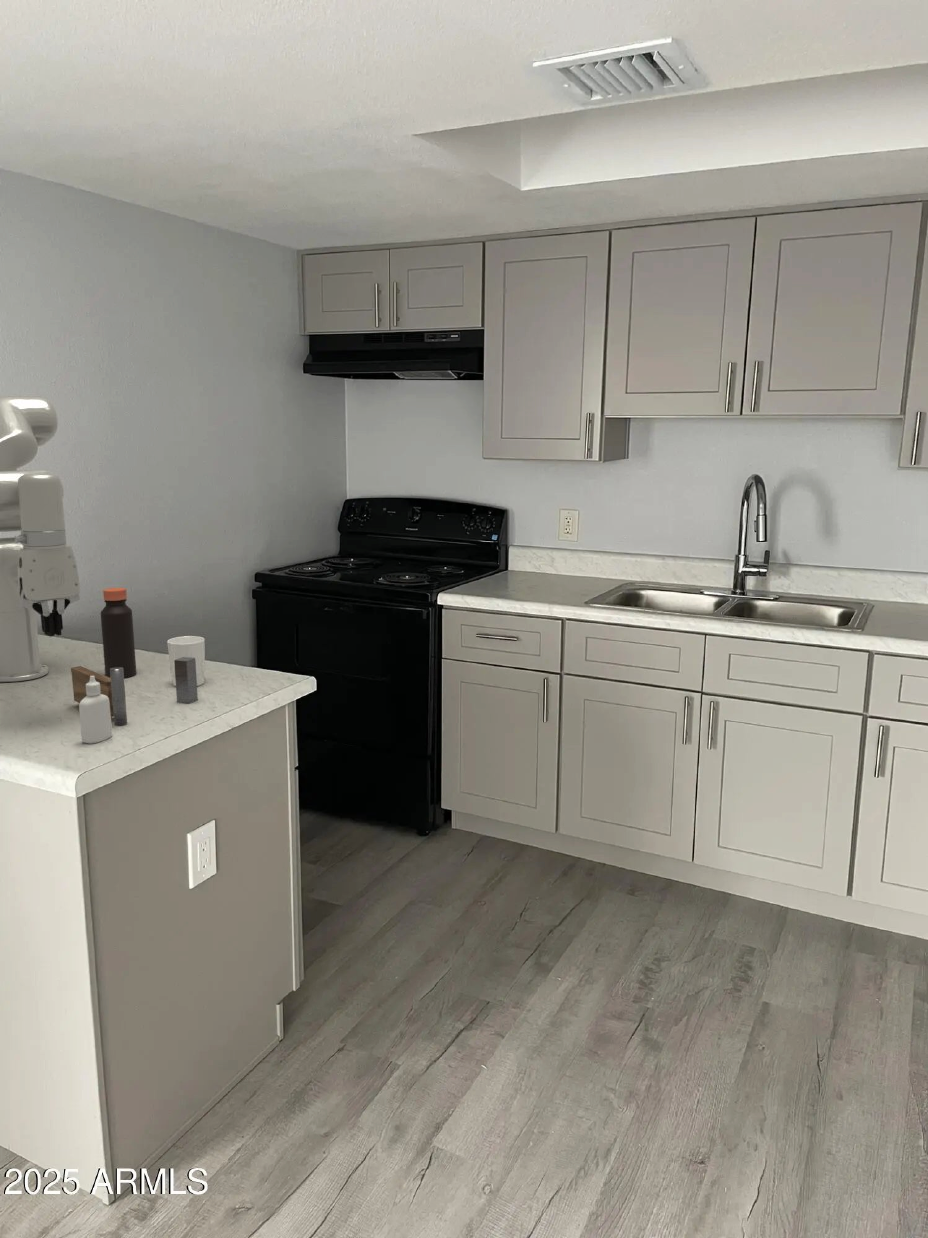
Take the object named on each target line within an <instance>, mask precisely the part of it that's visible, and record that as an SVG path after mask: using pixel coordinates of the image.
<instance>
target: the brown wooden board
mask: <svg viewBox="0 0 928 1238" xmlns="http://www.w3.org/2000/svg"><path fill="white" fill-rule="evenodd" d="M70 672H71V679H72V690H73V691H72V693H73V701H74V702H76V703H79V704H80V702H81V701H82V699H84V698H85V697H86V696H87V695H86V684H87V683H89V681H90V676H94V677H95V680H96V682H99V683H100V691H101V694H103V695H106V696H107V697H108V698H109V703H110V714H111V718H114V716H113V703H112V690H111V678H109V677H107V676H106V675H105V674H101V673H99V672H97V671H94V670H91V669H89V668H86V667H84V666H83V665H82V666H81V665H79V666H74V667H70Z"/></svg>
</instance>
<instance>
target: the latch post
mask: <svg viewBox="0 0 928 1238" xmlns="http://www.w3.org/2000/svg"><path fill="white" fill-rule="evenodd" d="M174 663H175V679H176V686H175V688H176V689H175V691H176V694H175V695H176V703H182V704H191V703H194V702H195V701H197V700H199V699H198V695H199V694H198V686H197V678H196V661H195V658H191V657H181V658H179V659H176V660H174Z"/></svg>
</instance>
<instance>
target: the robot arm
mask: <svg viewBox="0 0 928 1238" xmlns="http://www.w3.org/2000/svg"><path fill="white" fill-rule="evenodd" d="M58 420H59V419H58V415H57V412H56V409H55V407H54V405H53V404H52V402H51V401H49V400H48V399H47V398H44V397H41V396H40V397H39V396H9V395H8V396H6V395H5V396H0V533H7V532H10V533H11V532H20V534H19V535H15V536H13V537H1V538H0V682H1V683H2V682H4V683H11V682H13V683H14V682H23V681H29V680H34V679H39V678H41V677H44V676H45V675H48V673H49V666H47V665H45V664H41V655H40V644H39V643H40V642H39V635H38V633H39V631H38V622H37V614H39V615H40V621H41V631H42V632H43V633H44V635H45V636H47V637H50V638H51V637H54V636H55V635H56V636H61V635H62V631H63V629H64V626H63V625H64V623H63V614H64V613H65V610H66V609H67V607H69V605H70V604H73V603H75V602H77V601H79V600H80V597H81V596H80V593H81V585H80V583H81V582H80V577H79V571H78V567H77V562H76V557H75V554H74V553H75V552H74V550H73V546H72V545H70V544H67V536H66V523H65V522H66V521H65V513H64V511H65V510H64V501H63V499H64V486H63V481H62V479H61V478H60V476H59V475H57V473H56V472H54V471H52V470H46V469H45V470H44V469H42V470H41V469H40V470H39V469H37V470H36V469H35V470H26V469H25V470H18V469H19V468H22V467H24V466H26V465H28V464H29V463H31V462H32V461H33V460H34V459H35V458H36V455H37V453H38V450H39V447H41V446H43V445H44V446H45V444H47V443H48V442H49V441H50V440H51V439H53V437H55V436H56V433H57V430H58V424H59V423H58ZM50 601H51V602H52V604H51V612H50V608H49V602H50ZM36 613H37V614H36Z"/></svg>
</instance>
